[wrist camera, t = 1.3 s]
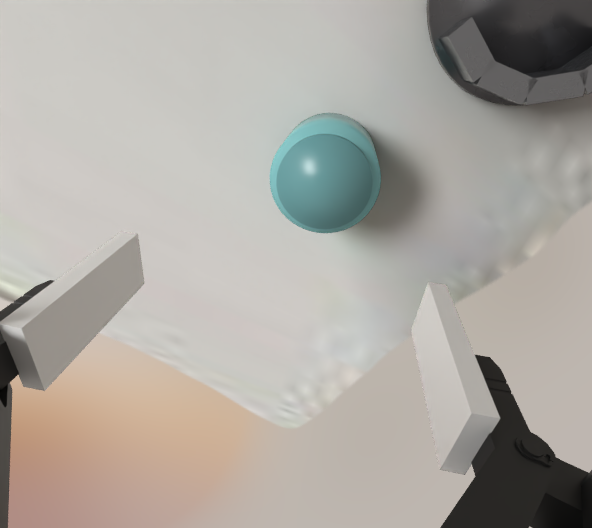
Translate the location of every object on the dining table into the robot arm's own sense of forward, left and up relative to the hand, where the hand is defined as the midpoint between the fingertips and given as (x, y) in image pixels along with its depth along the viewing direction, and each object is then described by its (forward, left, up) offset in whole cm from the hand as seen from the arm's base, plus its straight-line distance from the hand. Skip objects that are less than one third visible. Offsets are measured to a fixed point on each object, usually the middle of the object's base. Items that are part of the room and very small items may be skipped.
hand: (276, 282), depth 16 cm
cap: (-1, +1, -17) cm, 17 cm away
